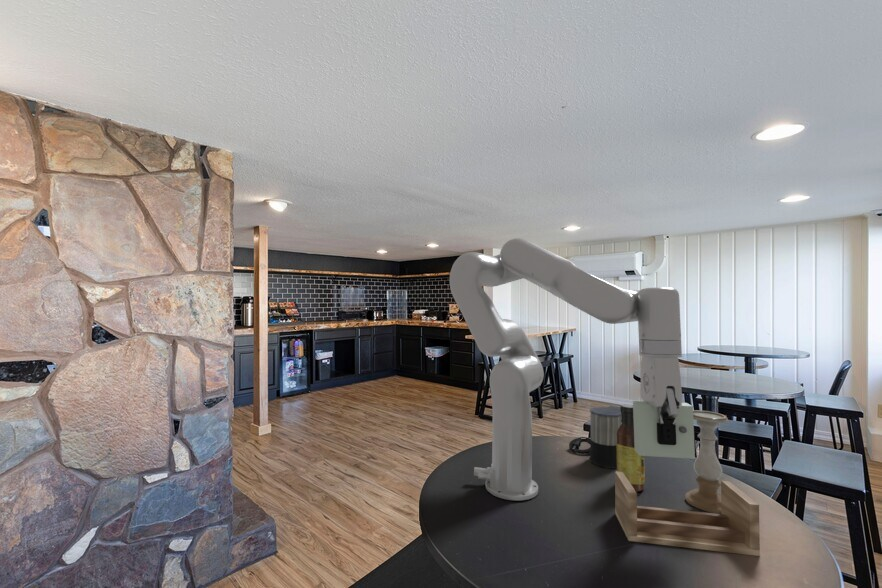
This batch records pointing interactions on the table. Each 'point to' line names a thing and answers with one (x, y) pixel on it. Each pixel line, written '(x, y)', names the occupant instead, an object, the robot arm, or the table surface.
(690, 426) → the rectangular block
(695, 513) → the track
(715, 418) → the candle holder
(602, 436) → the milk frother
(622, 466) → the sauce bottle
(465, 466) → the table surface
